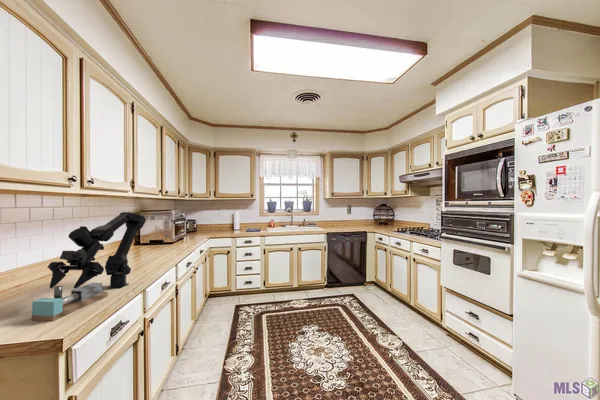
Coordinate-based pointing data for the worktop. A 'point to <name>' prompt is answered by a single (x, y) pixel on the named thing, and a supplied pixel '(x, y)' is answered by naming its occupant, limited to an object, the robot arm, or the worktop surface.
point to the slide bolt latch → (78, 301)
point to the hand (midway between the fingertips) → (62, 287)
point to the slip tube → (68, 298)
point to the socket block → (47, 306)
